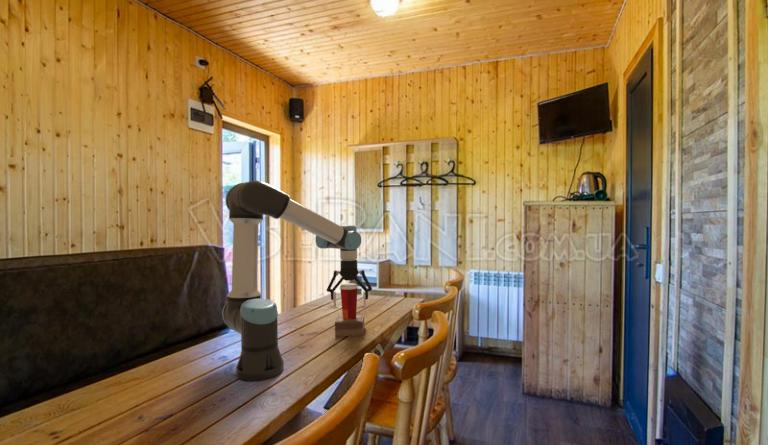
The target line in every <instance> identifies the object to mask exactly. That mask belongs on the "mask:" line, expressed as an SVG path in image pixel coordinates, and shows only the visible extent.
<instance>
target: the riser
mask: <svg viewBox="0 0 768 445" xmlns="http://www.w3.org/2000/svg"><path fill="white" fill-rule="evenodd" d="M364 331H365V314H356V318H355V319H351V320H346V319H343V314H338V315H337V317H336V320H334V336H335V337H359V336H360V337H361V336H364Z"/></svg>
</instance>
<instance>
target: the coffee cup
mask: <svg viewBox="0 0 768 445" xmlns="http://www.w3.org/2000/svg"><path fill="white" fill-rule="evenodd" d="M339 286H340V287H339V289H340V300H341V315H343V319H346V320H351V319H355V318H356V315H357V310H358V309H357V307H358V304H357V303H358V288H359V287H358V283H350V282H349V283H341V285H339Z"/></svg>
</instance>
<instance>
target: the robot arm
mask: <svg viewBox="0 0 768 445" xmlns="http://www.w3.org/2000/svg"><path fill="white" fill-rule="evenodd" d="M224 202H225V205H226V208H227V210H228V211H229V213H228V220H230V222H231V223H232V224H233V229H232V230H233V232H232V265H231V266H232V268H231V269H232V270H231V290H230V291H229V292H228V293H227V294H226V303H225V304H224V306H223V308H222V312H221V315H222V320H223V322H224V324H225V325H226V326H227V327H228V328H229V329H231V330H232V331H234V332H237V334H240V342H241V344H240V347H241V350H240V351H241V352H240V355H239V358H238V360H237V361H238V362H237V365H236V369H235V375H236V377H237V378H238V379H239V380H242V381H247V382H253V381H254V382H255V381H262V380H268V379H270V378H274V377H276V376H278V375H280V374H282V373H283V371H284V368H285V363H284V359H283V356H282V353H281V351H280V348H279V342H278V341H279V338H278V337H279V334H278V333H279V331H278V324H279V323H278V317H279V316H278V315H279V312H278V306H277V303H276V302H275V301H273V300H271V299H268V298H262V293H261V292H260V290H258V255H259V252H258V251H259V250H258V249H259V225H260V223H262V222H263V220H264V216H268V217H271V218H273V219H275V220H278V219H281V220H284V221H286V222H288V223H290V224H293V225H294V226H296V227H298V228H300V229H302V230H304V231H306V232H308V233H311V234H313V235H315V245H316V246H317V247H318V248H319V249H338V250H340V256H339V258H340V270H337V269H335V270H333V274H332V275H333V276H332V277H331V280H330V282H329V284H328V286H327V288H326V292H329V294H330V299H331V301H333V303H332V304H333V305H332V306H333V308H334V309H335V308H336V307H337V294H336V293H337V292H336V290H337V288H338V287H339V286H341V285H340V284H342V282H343V281H344V280H345V281H347V282H348V281H355V282H356V284H357V285H358V286H360V287H361V289H362V290H363V307H364V308H366V307H367V300H368V299H369V292H371V291H373V286H371V284H370V282H369V280H368V278H367V276H366V273H365V269H362V270H358V260H357V259H358V249H359V248H360V246H361V244H362V236H361V234H360V233H359V232H358V231H357V230H358V229H357V226H356V225H354V224H353V225H348V224H347V225H346V224H345V225H339V224H337V223H336V222H333V221H332V220H330V219H328V218H326V217H325V216H323V215H321V214H318V213H317V212H315V211H313V210H311V209H310V208H308V207H306V206H303V204H300V203H298V202H297V201H295V200H292V199H291V196H290V195H289V194H287V193H286V192H284V191H282V190H280V189H279V188H276V187H275V186H273V185H271V184H269V183H267V182H265V181H261V180H251V181H246V182H239V183H237V184H235V185H234V186H232V187H231V188H230V189H229V190H227V192H226V195H225V201H224ZM358 274H359V275H360V276H361V277H362V280H363V281H364V282H365V284H364V283H363V282H362V280H361V279H360V278H359V277H358ZM339 275H340V277H341V278H339V280H338V281H337V283H336V284H335V285H334V282H335V280H336V278H337V276H339ZM333 285H334V286H333ZM332 287H333V288H332Z"/></svg>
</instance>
